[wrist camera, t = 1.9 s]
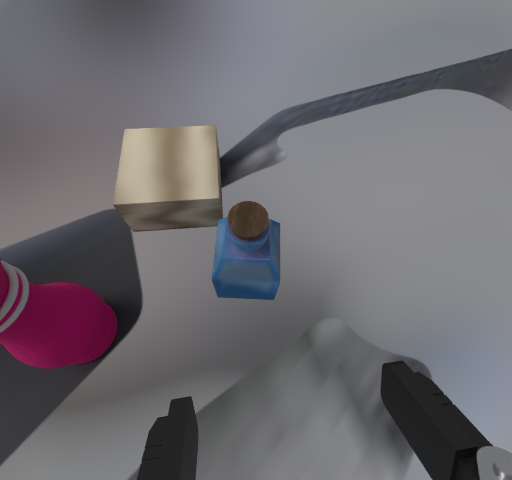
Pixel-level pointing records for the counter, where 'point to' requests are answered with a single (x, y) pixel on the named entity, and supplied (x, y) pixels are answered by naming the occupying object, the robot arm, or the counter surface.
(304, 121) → the counter surface
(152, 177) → the birch block
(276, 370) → the counter surface
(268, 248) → the perfume bottle
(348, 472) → the counter surface
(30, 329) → the pepper mill
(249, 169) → the counter surface
